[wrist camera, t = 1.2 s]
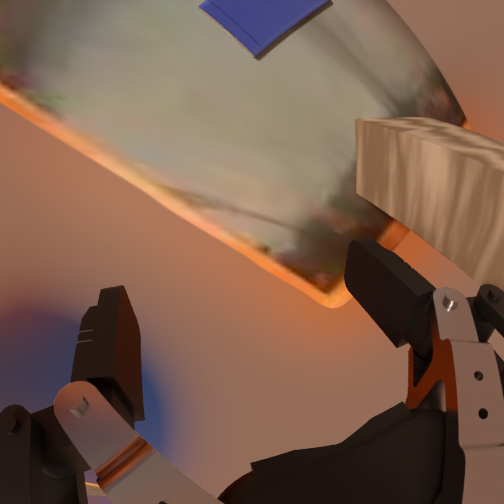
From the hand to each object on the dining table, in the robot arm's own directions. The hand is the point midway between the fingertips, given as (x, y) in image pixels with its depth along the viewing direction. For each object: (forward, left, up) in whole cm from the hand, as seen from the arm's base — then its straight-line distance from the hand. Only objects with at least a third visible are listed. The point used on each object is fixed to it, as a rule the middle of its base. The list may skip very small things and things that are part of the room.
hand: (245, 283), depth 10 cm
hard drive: (-17, +8, -23) cm, 30 cm away
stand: (0, +27, -22) cm, 35 cm away
